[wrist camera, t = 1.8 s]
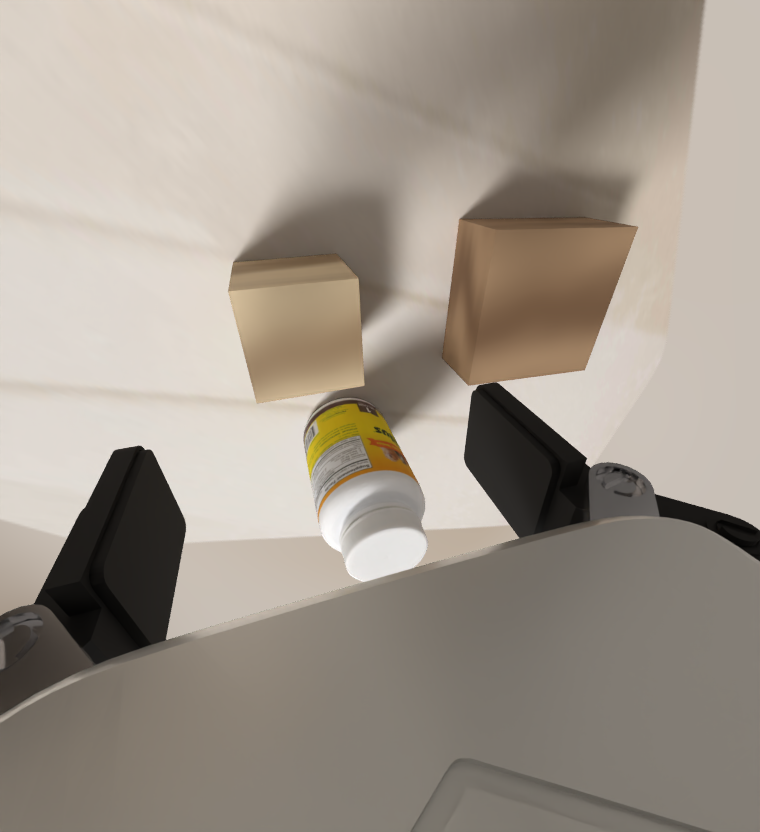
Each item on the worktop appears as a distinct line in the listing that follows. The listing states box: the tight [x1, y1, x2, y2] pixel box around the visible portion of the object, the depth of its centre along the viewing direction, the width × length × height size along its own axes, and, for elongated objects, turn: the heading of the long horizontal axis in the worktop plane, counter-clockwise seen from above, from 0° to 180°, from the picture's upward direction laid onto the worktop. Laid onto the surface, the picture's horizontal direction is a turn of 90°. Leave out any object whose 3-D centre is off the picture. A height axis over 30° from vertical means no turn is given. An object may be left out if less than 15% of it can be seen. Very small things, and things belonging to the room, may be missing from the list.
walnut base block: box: [442, 217, 638, 386], centre depth 21 cm, size 8×8×4 cm
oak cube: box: [228, 254, 364, 403], centre depth 18 cm, size 5×5×5 cm
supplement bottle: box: [303, 398, 428, 582], centre depth 21 cm, size 6×6×10 cm
